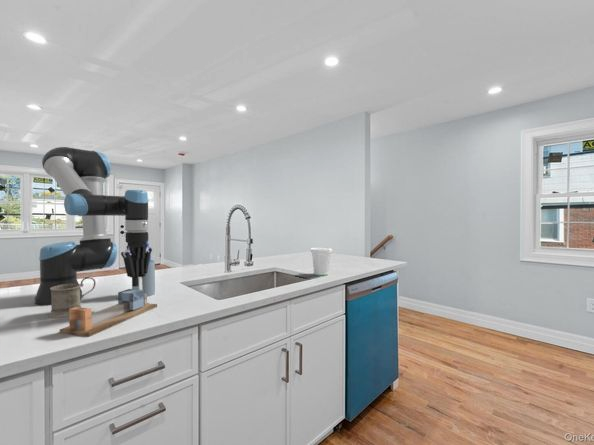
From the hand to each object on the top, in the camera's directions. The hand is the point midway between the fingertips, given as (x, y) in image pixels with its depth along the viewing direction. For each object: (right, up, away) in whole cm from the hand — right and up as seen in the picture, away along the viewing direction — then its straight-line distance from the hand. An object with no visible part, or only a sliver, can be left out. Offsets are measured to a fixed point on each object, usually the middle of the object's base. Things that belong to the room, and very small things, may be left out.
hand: (137, 294), depth 110 cm
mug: (-21, -6, -3) cm, 22 cm away
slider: (-1, -4, -3) cm, 5 cm away
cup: (+74, -4, +63) cm, 97 cm away
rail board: (-2, -6, -10) cm, 12 cm away
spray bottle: (-8, -5, +19) cm, 21 cm away
